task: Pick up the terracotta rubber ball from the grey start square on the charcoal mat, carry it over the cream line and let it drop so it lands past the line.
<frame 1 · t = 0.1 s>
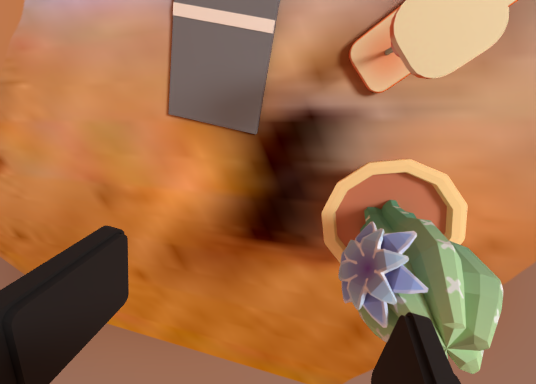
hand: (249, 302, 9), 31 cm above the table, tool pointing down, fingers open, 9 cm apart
potted cactus: (379, 198, 39), on the table
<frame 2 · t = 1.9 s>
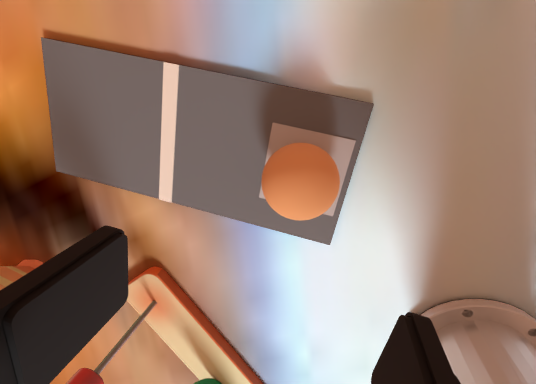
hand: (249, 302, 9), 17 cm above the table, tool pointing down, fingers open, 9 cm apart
ball: (300, 181, 22), point 4 cm above the table, touching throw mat
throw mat: (191, 141, 27), on the table
potted cactus: (44, 286, 39), on the table
crank mechanism: (206, 344, 36), on the table
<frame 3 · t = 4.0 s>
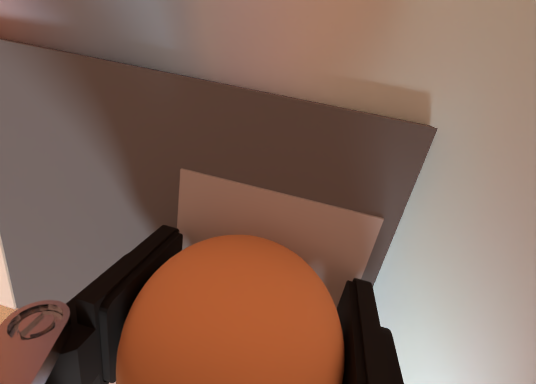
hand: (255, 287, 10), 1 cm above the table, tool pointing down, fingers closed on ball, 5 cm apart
ball: (235, 341, 8), point 4 cm above the table, touching gripper, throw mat
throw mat: (30, 199, 13), on the table
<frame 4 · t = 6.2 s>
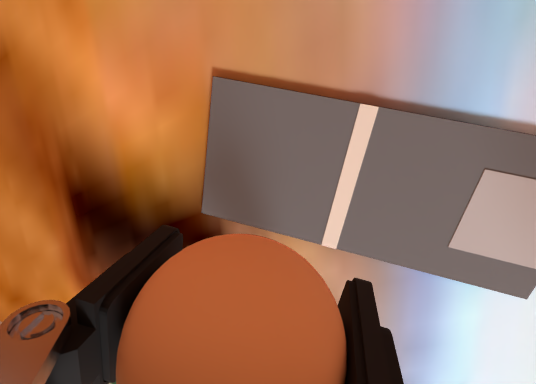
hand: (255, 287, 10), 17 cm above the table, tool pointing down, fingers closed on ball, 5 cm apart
ball: (236, 341, 8), point 19 cm above the table, touching gripper
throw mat: (370, 186, 25), on the table
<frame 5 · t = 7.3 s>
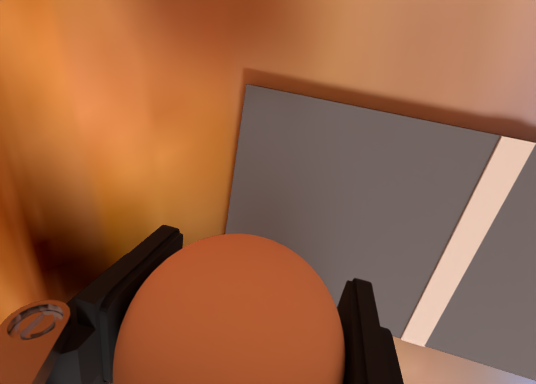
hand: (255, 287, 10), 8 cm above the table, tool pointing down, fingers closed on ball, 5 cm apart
ball: (234, 341, 8), point 10 cm above the table, touching gripper
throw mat: (490, 261, 16), on the table
when the fingers open (5 cm above the table, at t = 8.4 s): ball drops 3 cm, resting on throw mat.
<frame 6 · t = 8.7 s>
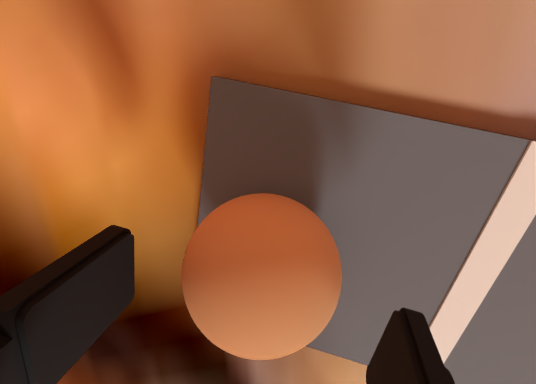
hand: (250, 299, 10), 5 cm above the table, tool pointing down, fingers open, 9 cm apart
ball: (262, 270, 11), point 4 cm above the table, touching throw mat
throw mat: (510, 289, 13), on the table
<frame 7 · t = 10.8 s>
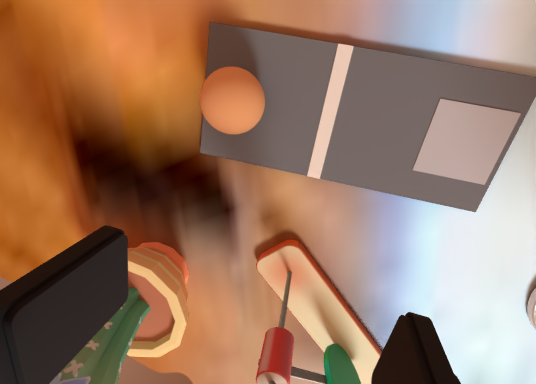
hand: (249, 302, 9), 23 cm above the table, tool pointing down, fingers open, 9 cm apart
ball: (232, 101, 26), point 4 cm above the table, touching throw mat
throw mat: (347, 120, 29), on the table
potted cactus: (160, 267, 41), on the table
crank mechanism: (326, 313, 39), on the table
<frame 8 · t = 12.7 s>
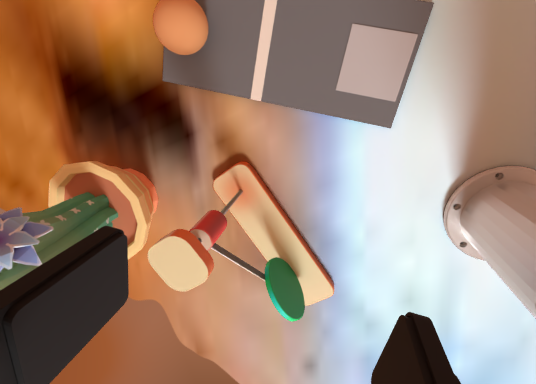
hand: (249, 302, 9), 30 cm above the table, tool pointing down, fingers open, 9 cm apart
ball: (181, 25, 32), point 4 cm above the table, touching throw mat
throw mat: (281, 47, 34), on the table
potted cactus: (133, 194, 46), on the table
crank mechanism: (276, 235, 44), on the table
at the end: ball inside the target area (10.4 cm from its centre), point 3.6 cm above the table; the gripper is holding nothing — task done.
